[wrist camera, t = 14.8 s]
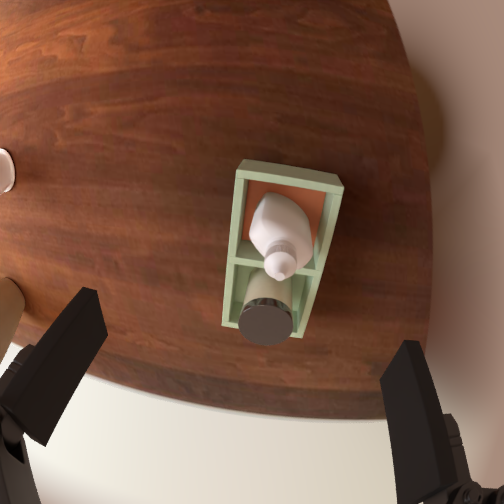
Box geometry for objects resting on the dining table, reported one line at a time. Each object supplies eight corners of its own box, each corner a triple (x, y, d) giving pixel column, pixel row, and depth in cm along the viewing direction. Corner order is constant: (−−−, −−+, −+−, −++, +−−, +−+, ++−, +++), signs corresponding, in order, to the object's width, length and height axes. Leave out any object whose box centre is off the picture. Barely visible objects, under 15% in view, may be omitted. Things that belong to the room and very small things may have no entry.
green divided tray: (243, 158, 30) (236, 169, 26) (336, 174, 29) (344, 187, 25) (228, 301, 39) (221, 325, 35) (301, 313, 39) (302, 338, 35)
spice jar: (281, 253, 34) (279, 297, 27) (300, 289, 36) (301, 336, 29) (239, 270, 36) (227, 315, 29) (260, 304, 38) (253, 350, 31)
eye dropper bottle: (275, 242, 33) (268, 314, 23) (252, 197, 31) (232, 254, 20) (312, 227, 32) (323, 296, 21) (291, 180, 30) (293, 231, 19)
